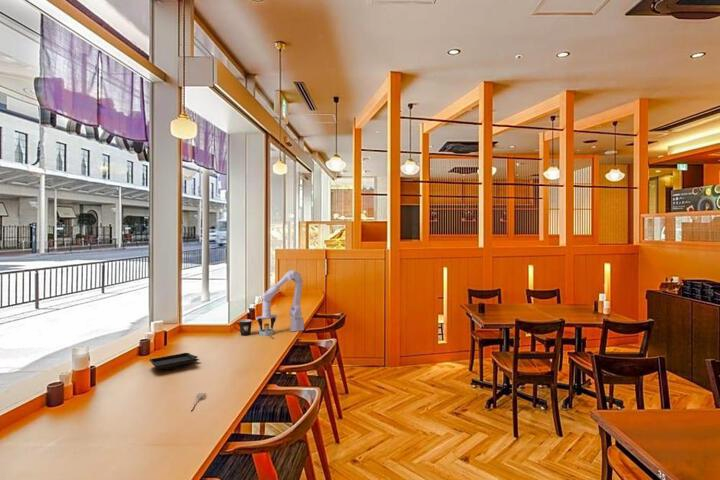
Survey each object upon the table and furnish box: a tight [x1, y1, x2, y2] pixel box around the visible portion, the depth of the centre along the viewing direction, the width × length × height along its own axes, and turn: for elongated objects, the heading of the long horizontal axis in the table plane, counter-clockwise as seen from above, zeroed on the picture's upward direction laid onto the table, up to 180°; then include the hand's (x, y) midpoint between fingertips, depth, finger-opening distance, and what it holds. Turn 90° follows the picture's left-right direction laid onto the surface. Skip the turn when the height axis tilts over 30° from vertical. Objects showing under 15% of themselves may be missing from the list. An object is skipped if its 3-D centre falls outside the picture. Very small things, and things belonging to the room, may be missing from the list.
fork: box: [194, 392, 205, 404], centre depth 180 cm, size 3×21×3 cm, turn 2°
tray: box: [149, 352, 199, 371], centre depth 227 cm, size 30×23×5 cm
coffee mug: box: [233, 318, 253, 337], centre depth 294 cm, size 12×9×10 cm
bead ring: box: [258, 328, 275, 337], centre depth 297 cm, size 10×10×2 cm
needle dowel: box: [263, 323, 270, 331], centre depth 297 cm, size 3×3×7 cm
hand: (266, 329), depth 297 cm, fingers open, 7 cm apart
